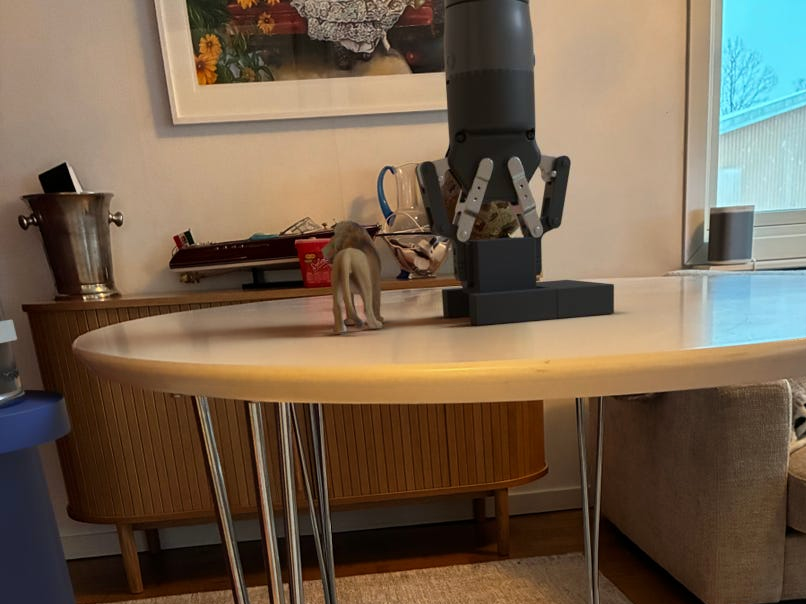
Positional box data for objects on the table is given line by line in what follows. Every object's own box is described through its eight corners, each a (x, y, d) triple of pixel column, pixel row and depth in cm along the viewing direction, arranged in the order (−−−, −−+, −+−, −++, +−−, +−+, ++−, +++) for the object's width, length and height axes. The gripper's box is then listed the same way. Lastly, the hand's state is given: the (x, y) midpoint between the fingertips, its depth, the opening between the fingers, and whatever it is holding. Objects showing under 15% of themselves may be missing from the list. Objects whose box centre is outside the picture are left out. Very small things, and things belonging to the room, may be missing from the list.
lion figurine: (328, 322, 94) (317, 222, 90) (383, 318, 95) (374, 218, 91) (333, 337, 80) (320, 220, 77) (396, 332, 81) (386, 216, 78)
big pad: (476, 325, 83) (474, 295, 82) (443, 316, 93) (441, 289, 92) (614, 313, 86) (614, 284, 85) (568, 306, 96) (567, 279, 95)
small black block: (479, 295, 85) (476, 240, 83) (462, 292, 90) (459, 240, 88) (536, 291, 86) (535, 237, 84) (517, 288, 91) (515, 237, 89)
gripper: (553, 76, 86) (556, 278, 93) (396, 79, 82) (412, 288, 89) (585, 63, 79) (587, 281, 86) (417, 65, 76) (432, 292, 83)
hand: (498, 283), depth 88 cm, fingers closed on small black block, 5 cm apart
